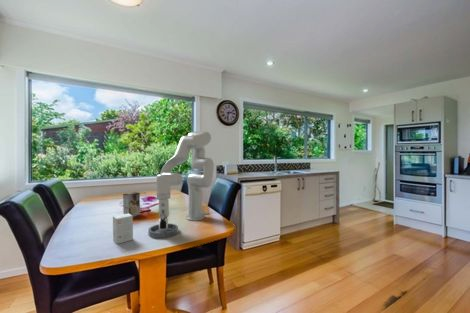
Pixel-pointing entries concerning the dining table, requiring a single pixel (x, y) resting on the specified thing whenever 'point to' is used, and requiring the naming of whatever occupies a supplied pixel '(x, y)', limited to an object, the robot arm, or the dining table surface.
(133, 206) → the coffee box
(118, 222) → the small box
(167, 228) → the white egg
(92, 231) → the dining table surface
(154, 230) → the round bowl
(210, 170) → the robot arm
